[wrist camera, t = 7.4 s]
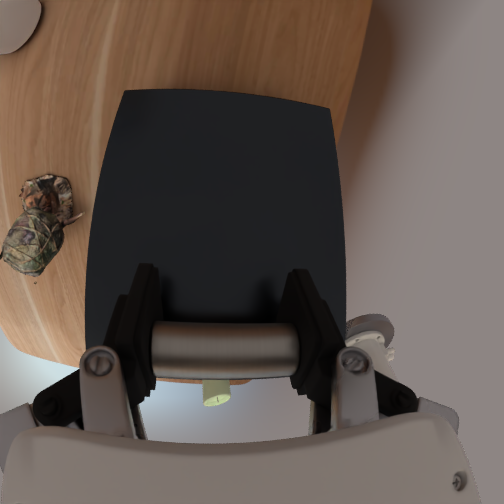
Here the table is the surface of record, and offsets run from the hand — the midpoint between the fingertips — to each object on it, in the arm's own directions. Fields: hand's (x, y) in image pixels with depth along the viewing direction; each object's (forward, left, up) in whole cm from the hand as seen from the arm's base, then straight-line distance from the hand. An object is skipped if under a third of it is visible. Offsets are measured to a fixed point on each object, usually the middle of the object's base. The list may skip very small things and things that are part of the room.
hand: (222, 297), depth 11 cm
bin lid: (0, -1, -5) cm, 5 cm away
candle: (-2, +38, -21) cm, 44 cm away
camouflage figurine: (+21, +5, -21) cm, 30 cm away
